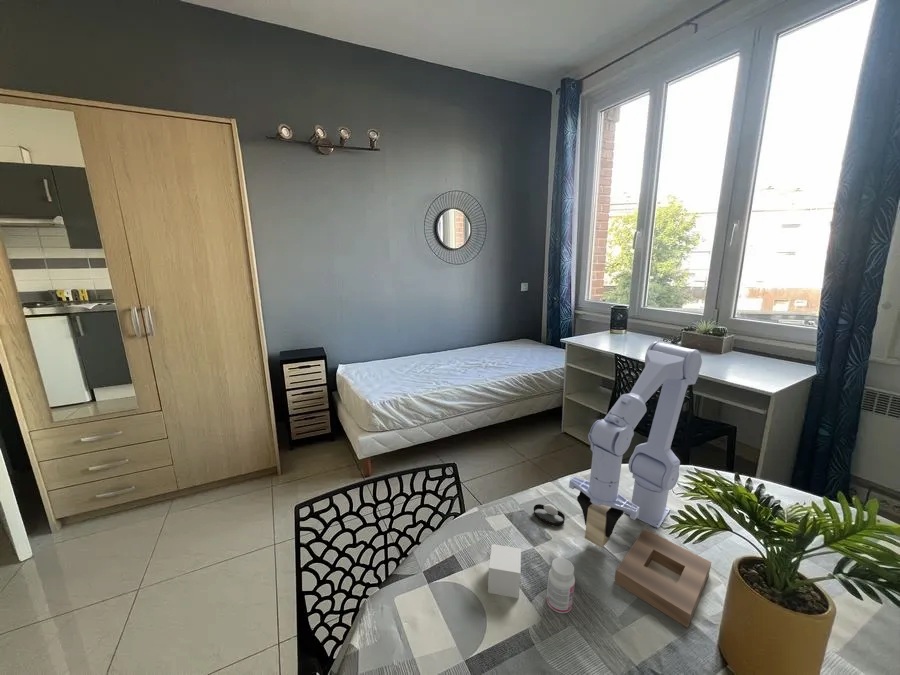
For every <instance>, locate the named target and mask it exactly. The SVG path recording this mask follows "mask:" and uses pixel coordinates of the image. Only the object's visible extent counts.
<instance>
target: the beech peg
mask: <svg viewBox="0 0 900 675" xmlns="http://www.w3.org/2000/svg"><path fill="white" fill-rule="evenodd" d="M610 508H611V507H609V506H605V505H600V506H597V505H595V504H593V503H592V504H591V505H590V506H589V507H588V513H587V522H586V525H585V531H584V539H585V540H588V541H590V542H591V543H593V544H594V545H596V546H597V547H600V548H601V549H603V548H604V547H605V546H606V544H607V543H608V541H609V540H610V539H611V536H610V537H609V538H608V537H606V536H605V532H606V526H607V517H606V512H607V511H608V510H609V509H610Z"/></svg>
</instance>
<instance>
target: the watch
mask: <svg viewBox="0 0 900 675" xmlns="http://www.w3.org/2000/svg"><path fill="white" fill-rule="evenodd" d="M537 510H543V511H545V512H546V513H547V514H549V515H551V516H558V517H561V519H562V520H561V521H551V520H549V519H546V518H544V517H542V516H540V515H538V514H537V512H536V511H537ZM533 515H534V517H535V519H537V520H538V521H539V522H541V523H542V524H545V525H547V526H552V527H562V526H563V525H564V523H565V521H566V520H565V514H564V513H563V511H560V510H558V508H557V507H556V506H555V505H554V504H550V503H548V504H541V503H538V504H535V505H534V506H533Z"/></svg>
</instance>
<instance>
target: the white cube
mask: <svg viewBox="0 0 900 675" xmlns="http://www.w3.org/2000/svg"><path fill="white" fill-rule="evenodd" d="M521 564H522V548H519V547H513V546H506V545H500V544H495V543H493V544H492V543H491V549H490V557H489V565H488V579H487V580H488V581H487V582H488V583H487V585H488V586H487V593H489V594H494V595H499V596H504V597H510V598H514V599H520V586H521V574H522V573H521V569H522V566H521Z"/></svg>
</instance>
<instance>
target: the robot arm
mask: <svg viewBox="0 0 900 675" xmlns="http://www.w3.org/2000/svg"><path fill="white" fill-rule="evenodd" d="M701 354H702V353H700V350H698V349H695V348H694V349H691V348H687V347H683V346H678V345H674V344H668V343H665V342H662V341H661V342H660V341H656V340H655V341H654V342H652V343H651V344H650V345H649V346H648V347H647V349H646V352H645V356H644V365H645V366H644V368H643V369H642V372H641V373H640V375H639V377H638V378H637V381H636V382H635V383H634V385H633V387H632V389H631V390H630V392H629V393H623V394H621V395H620V396H619V397H618V399H617V401H616V402H615V403H614V404H613V406H612V407H611V409H610V410H609V411H608V413H607V414H606V415H605V417H604V418H601V419H598V420H596V421H595V422H593V424H592V425H591V428H590V431H589V433H588V442H589V443H590V451H591V452H592V456H591V457H592V458H591V467H590V476H589V481H588V480H585V479H581V478H579V477H575V476H573V477H571V479H569V484H568V488H570V489H572V490H574V489H576V490H578V491H579V495H578V496H577V497H576V498H577V499H576V500H577V502H578V504H579V507H580V508H581V512H582V514H583V518H584V524H585V526H586V522H587V513H588V507H589V506H590V505H591V504H592V503H593V504H595V505H597V506H600V505H605V506H609V507H611V508H610V509H609V510H608V511H607V512H606V517H607V526H606V532H605V536H606V537H608V538H609V537H610V538H611V536H612V534H613V532H614V529H615V526H616V524H617V522H618V521H619V520H620V518H621V517H622V516H623V515H624V513H625V514H626V515H628V516H629V518H630V519H632V520H637V519H638V520H639V521H642V522H643V523H645V524H648V525H650V526H652V527H654V528H656V529H659V528H660V526H662V523H664V521H665V519H666V518H667V516H668V514H669V513H670V512H671V508H669V507H668V506H667V503H668V496H669V491H671V490H673V489H674V488H675V487H676V485H677V483H678V482H679V481H678V480H679V479H680V478H679V477H680V467H681V466H680V465H681V461H680V459H679V458H678V457H677V456H676V454H675V453H674V452H673V450H672V449H671V448H672V447H671V446H672V442H673V439H674V435H675V432H676V430H677V425H678V422H679V418H680V414H681V410H682V407H683V403H684V400H685V396H686V391H687V389H688V386H691V385H696V382H697V381H698V378H699V374H700V371H701V367H702V363H703V358H702V355H701ZM660 387H661V390H660V394H659V398H658V400H657V405H656V409H655V413H654V416H653V419H652V424H651V428H650V431H649V434H648V438H647V441H646V442H644V443H639V444H638V445H636V446H635V448H634V450H633V452H632V454H631V456H630V458H629V460H628V470H629V472H630V473H631V474H632V479H633V480H634V482H633V489H632V496H631V501H629V500H628V499H627V498H625V497H624V496H623V495H622V494H620V493H619V487H620V485H619V484H620V478H621V477H620V476H621V469H622V463H623V456H624V454H625V453H626V452H627V451H628V449H629V447H630V445H631V442H632V439H633V437H634V435H635V432H634V430H635V429H636V427H637V425H638V424H639V423H640V421H641V420H642V418H644V416H645V414H646V413H647V411H648V410H647V409H648V408H647V406H646V403H647V401H648V400H650V398H651V397H652V396H653V395H654V393H656V391H657V390H658V389H659V388H660Z"/></svg>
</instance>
